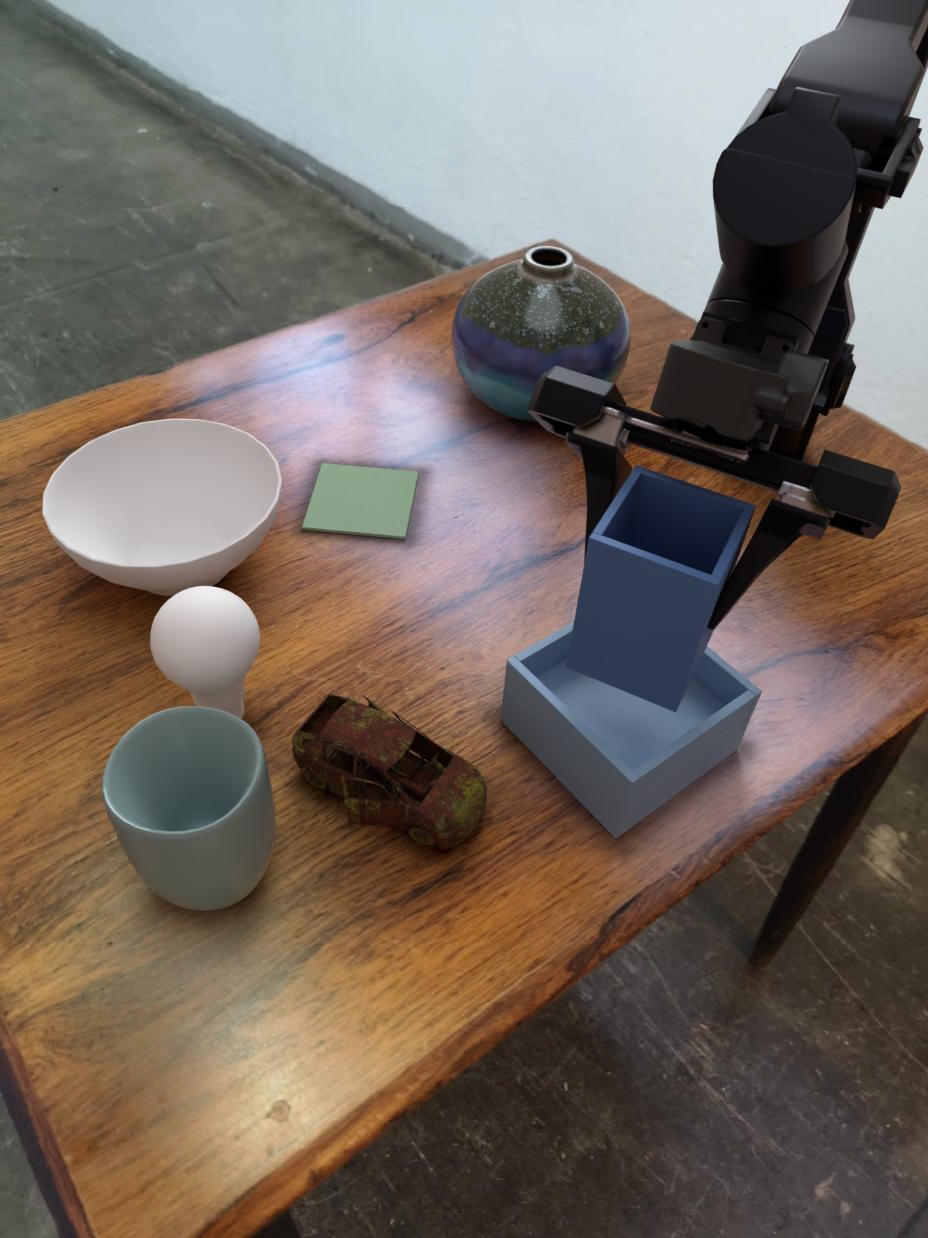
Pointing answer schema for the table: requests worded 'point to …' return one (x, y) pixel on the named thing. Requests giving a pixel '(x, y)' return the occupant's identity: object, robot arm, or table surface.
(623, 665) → the upper bin
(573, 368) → the vase
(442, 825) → the toy car
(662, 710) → the lower bin
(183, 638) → the lightbulb
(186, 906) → the cup
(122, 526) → the bowl
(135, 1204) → the table surface
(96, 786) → the table surface
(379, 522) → the mat
